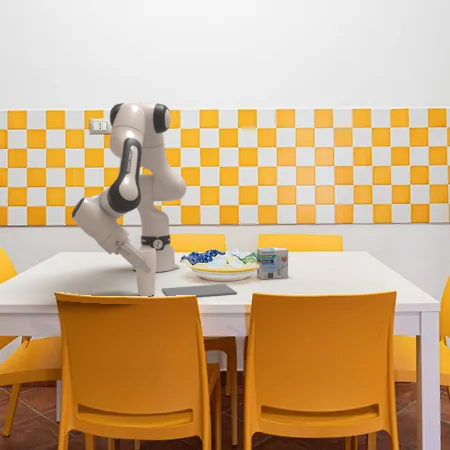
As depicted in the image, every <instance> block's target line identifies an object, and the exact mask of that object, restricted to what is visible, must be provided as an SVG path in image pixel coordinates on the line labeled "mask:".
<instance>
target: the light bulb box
mask: <svg viewBox="0 0 450 450" xmlns="http://www.w3.org/2000/svg"><path fill="white" fill-rule="evenodd" d="M257 263H258V264H259V268H258V269H257V268H256V276H257V277H258V278H259V279H261V280H271V279H272V280H273V279H276V280H277V279H288V278H289V249H287V248H285V247H282V246H281V247H264V248H263V247H262V248H261V247H260V248H259V247H257V249H256V264H257Z"/></svg>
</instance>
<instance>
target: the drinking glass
mask: <svg viewBox="0 0 450 450" xmlns="http://www.w3.org/2000/svg"><path fill="white" fill-rule="evenodd" d="M135 251H136V252H137V253H138V254H139V255H141V257H142V258H143V259H144V261H143V262H144V263H145V264H146V265H147V266H148V267H149V268H150V269H151V271H150V272H149V273H146V272H145V271H144V270H142V269H141V268H139V267H138V268H136V271H135V275H136V282H137V283H136V284H137V295H138V296H139V295H140V296H139V297H142V296H149V297H152V295H153V296H154V295H155V294H156V293H155V291H156V287H155V286H156V284H155V283H156V273H157V272H156V249H155V248H141V247H140V248H135Z"/></svg>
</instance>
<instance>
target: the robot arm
mask: <svg viewBox="0 0 450 450" xmlns="http://www.w3.org/2000/svg"><path fill="white" fill-rule="evenodd" d="M171 118H172V117H171V113H170V109H169V107H167V105H165V104H162V103H158V102H157V103H151V102H132V103H131V102H130V103H129V102H128V103H123V102H122V103H121V102H120V103H116V104H114V105H113V107H111V109H110V112H109V122H110V126H111V131H110V135H109V150H110V151H111V153H112V154H114V156H115V157H117V158H119V159H120V160H119V166H118V175H117V178H116V179H115V181H114V182H113V183H112V184H111V185H110V186H109V187H108V188H106V189H105V190H104V191H103V192H100V193H98V194H96V195H92V196H83V197H82V198H81V199H80V200H79V201H78V202H77V204H75V206H74V208H73V210H72V212H71V218H72V220H73V221H74V223H75V224H76V225H77V226H78V227H79V228H80V229H81V230H82V231H83V232H84V233H85V234H86V235H87V236H88V237H91V238H92V239H94V241H95V242H96V243H97V245H98V246H99V247H100V248H102V249H103V250H104V251H105V252H106V253H107V254H109V255H112V254H115V255H116V256H118V255H120V256H121V257H122V258H124V259H125V260H126V261H127V262H128V263H129V265H130V264H131V266H132V267H133V268H132V270H133V269H134V270H136V268H138V267H139V268H141V269H142V270H144V271H145V272H146V273H149V272H150V271H151V269H150V268H149V267H148V266H147V265H146V264H145V263H144V262H143V261H144V259H143V258H142V257H141V255H139V254H138V253H137V252H136V251H135V249H136V248H135V247H134V246H133V244H132V243H131V240H130V238H129V236H130V233H129V232H128V231H127V230H126V229H125V228H123V226H121V225H120V224H119V223H118V221H117V220H118V219H120V218H121V217H123V216H124V215H126V214H127V213H129V212H131V211H134V210H135V209H137V211H138V214H139V216H140V224H141V235H140V244H141V246H140V248H155V249H156V273H160V272H162V273H163V272H169V271H173V270H176V269H179V268H180V265H178V264H176V258H175V257H176V256H175V248H174V247H173V246H172V245H171V239H172V238H171V235H170V219H169V216H168V214H167V213H166V212H165V211H162V210H161V209H158V208H157V207H156V206H155V204H154V203H155V202H173V201H178V200H181V199H183V198H184V197H185V195H186V192H187V182H186V180H185V179H184V177H183V176H182V175H180V174H178V173H177V171H175V170H174V169H173V168H172V167H171V165H170V164H169V162H168V159H167V155H166V147H165V146H166V145H165V137H164V133H165V132H167V131H168V130H169V128H170V125H171V121H172V119H171ZM141 167H142V168H144V169H146V170H148V171H149V172H150V174H149V173H148V174H144V173H143V174H142V173H141V174H140V171H141Z"/></svg>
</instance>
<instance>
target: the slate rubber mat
mask: <svg viewBox="0 0 450 450" xmlns="http://www.w3.org/2000/svg"><path fill="white" fill-rule="evenodd" d="M161 290H163V291H162V293H164V295H165V294H166V295H165V296H166V297H167V296H176V295H196V296H197V297H196V298H202V297H203V296H207V297H218V296H231V295H232V296H233V295H237V294H238V292H237V291H236V290H234V289H233V288H232V287H230V286H229V285H227V284H226V283H221V284H206V285H205V284H204V285H191V286H180V287H179V286H176V287H164V288H161ZM203 298H204V297H203Z"/></svg>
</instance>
